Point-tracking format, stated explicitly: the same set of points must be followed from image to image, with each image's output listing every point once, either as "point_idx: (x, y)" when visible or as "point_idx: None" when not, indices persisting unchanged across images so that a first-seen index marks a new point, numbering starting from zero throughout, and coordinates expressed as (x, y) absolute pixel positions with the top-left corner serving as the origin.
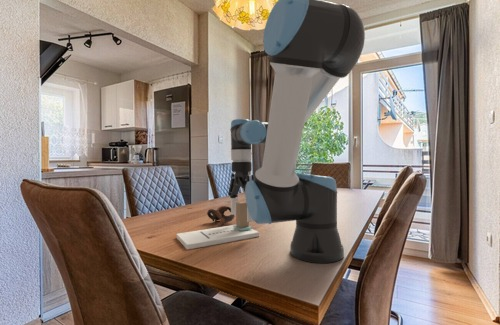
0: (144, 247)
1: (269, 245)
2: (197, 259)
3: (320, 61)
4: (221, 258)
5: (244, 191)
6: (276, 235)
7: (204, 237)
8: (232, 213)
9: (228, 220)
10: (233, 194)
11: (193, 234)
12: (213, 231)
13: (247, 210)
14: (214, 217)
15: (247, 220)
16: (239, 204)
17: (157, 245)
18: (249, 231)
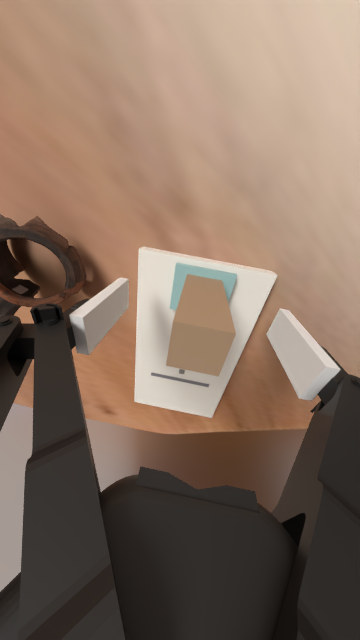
0: (156, 430)
1: (353, 305)
2: (262, 418)
3: None
4: (294, 402)
5: (295, 473)
6: (327, 207)
7: (195, 387)
8: (126, 307)
9: (80, 267)
10: (74, 366)
11: (160, 389)
12: (166, 356)
13: (287, 368)
14: (22, 284)
15: (269, 337)
16: (211, 370)
17: (159, 420)
18: (242, 292)
